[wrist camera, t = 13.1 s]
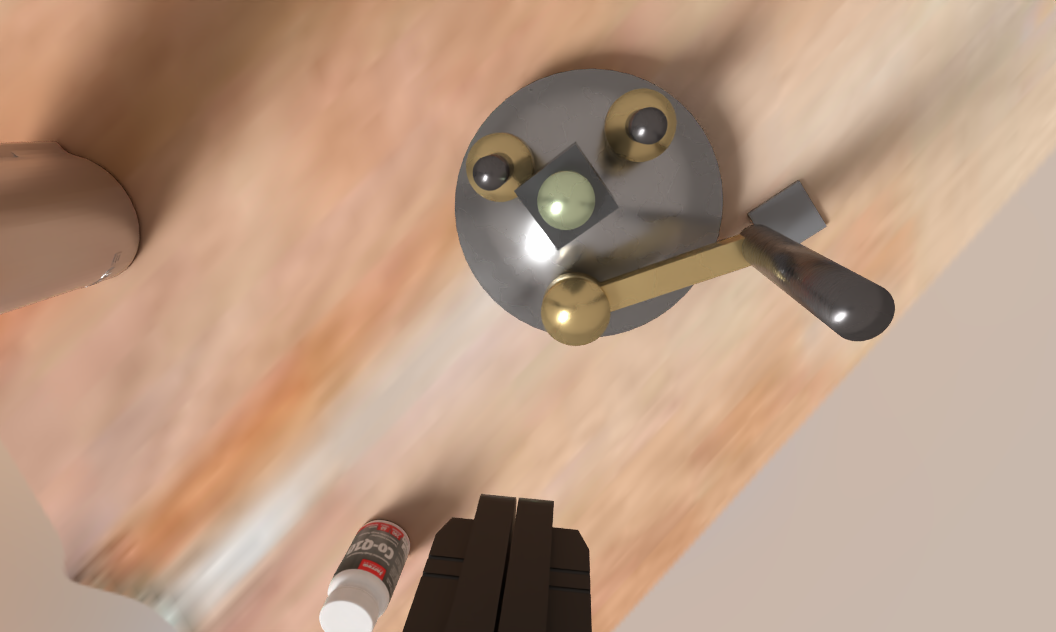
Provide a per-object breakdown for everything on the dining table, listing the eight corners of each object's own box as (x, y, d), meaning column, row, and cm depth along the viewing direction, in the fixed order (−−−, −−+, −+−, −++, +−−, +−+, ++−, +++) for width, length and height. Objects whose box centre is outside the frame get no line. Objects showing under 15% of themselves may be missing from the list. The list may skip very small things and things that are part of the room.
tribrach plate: (410, 181, 38) (364, 196, 30) (620, 10, 34) (635, -27, 26) (557, 370, 42) (552, 430, 34) (764, 237, 38) (817, 268, 29)
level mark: (747, 213, 37) (748, 214, 37) (797, 180, 36) (799, 180, 36) (774, 257, 38) (776, 258, 38) (824, 225, 37) (826, 226, 37)
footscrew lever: (555, 343, 39) (545, 455, 26) (533, 284, 38) (509, 371, 24) (783, 268, 36) (904, 352, 23) (766, 203, 35) (883, 251, 22)
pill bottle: (409, 519, 47) (376, 598, 40) (412, 565, 49) (381, 649, 41) (354, 516, 48) (310, 594, 40) (359, 561, 49) (318, 645, 41)
